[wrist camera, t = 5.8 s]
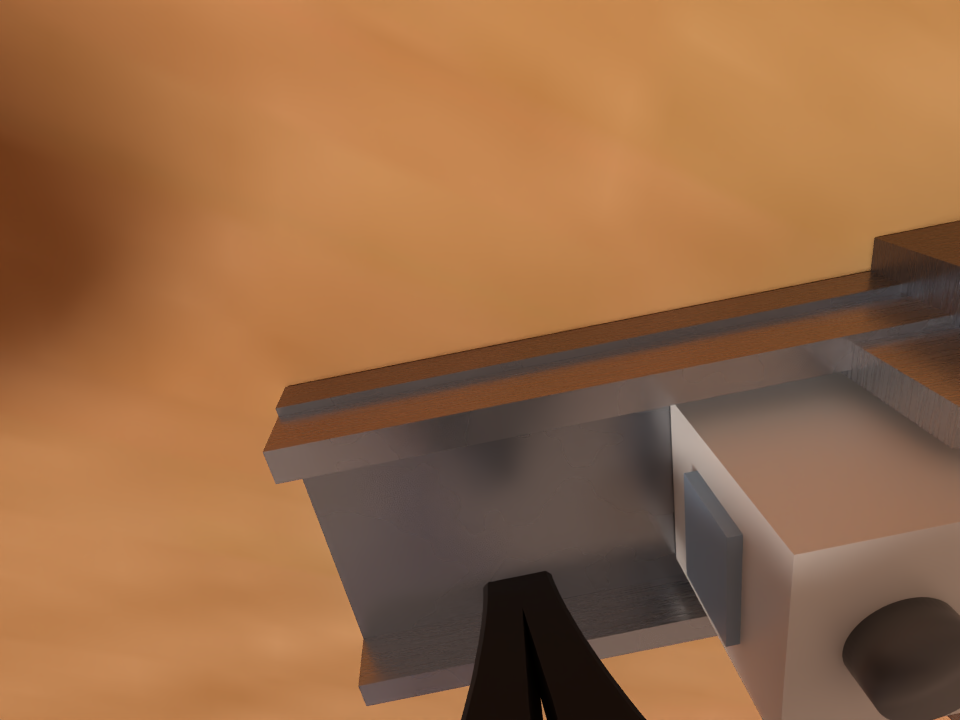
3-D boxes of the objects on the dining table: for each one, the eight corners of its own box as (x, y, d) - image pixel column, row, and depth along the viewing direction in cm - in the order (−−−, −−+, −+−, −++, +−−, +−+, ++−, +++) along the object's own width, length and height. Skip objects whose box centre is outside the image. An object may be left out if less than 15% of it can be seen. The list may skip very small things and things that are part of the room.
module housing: (978, 597, 19) (1214, 815, 13) (404, 712, 19) (397, 981, 13) (1087, 195, 13) (1576, 276, 8) (274, 356, 13) (163, 558, 8)
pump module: (858, 521, 16) (1077, 739, 10) (665, 560, 16) (786, 798, 10) (881, 356, 14) (1171, 526, 8) (657, 400, 14) (805, 599, 8)
